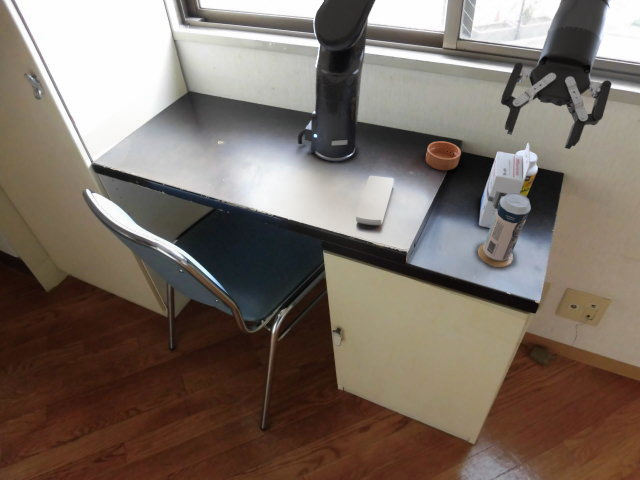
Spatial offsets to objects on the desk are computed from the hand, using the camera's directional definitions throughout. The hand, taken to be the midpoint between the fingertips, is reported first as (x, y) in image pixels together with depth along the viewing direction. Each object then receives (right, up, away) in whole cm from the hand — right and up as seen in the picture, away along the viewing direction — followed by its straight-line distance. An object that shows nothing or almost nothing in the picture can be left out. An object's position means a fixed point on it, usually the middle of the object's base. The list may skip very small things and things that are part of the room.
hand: (538, 140), depth 72 cm
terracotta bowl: (-6, +2, +34) cm, 35 cm away
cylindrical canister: (-2, -18, +13) cm, 22 cm away
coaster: (-2, -18, +13) cm, 22 cm away
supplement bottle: (+6, -7, +25) cm, 27 cm away
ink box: (+1, -10, +21) cm, 23 cm away
